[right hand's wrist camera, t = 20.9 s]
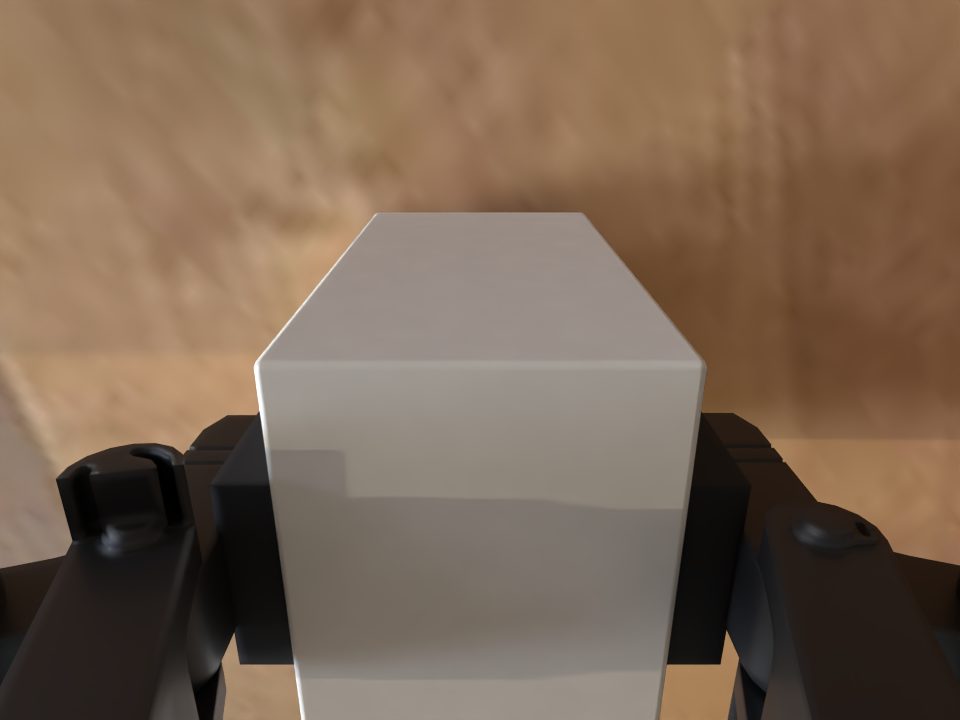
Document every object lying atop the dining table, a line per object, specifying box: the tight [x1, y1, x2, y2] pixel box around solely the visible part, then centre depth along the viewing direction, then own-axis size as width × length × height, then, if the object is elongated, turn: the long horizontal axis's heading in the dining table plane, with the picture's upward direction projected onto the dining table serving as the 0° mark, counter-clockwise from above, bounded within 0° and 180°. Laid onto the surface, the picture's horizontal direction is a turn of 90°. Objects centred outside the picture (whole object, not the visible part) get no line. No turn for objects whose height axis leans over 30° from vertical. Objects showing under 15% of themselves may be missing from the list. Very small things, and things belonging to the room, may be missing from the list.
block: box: [254, 212, 707, 720], centre depth 12 cm, size 5×6×9 cm
